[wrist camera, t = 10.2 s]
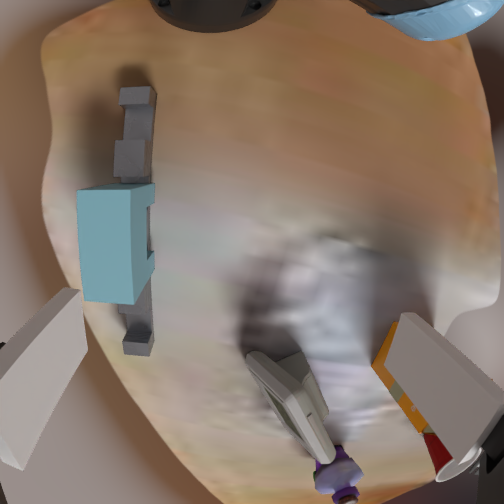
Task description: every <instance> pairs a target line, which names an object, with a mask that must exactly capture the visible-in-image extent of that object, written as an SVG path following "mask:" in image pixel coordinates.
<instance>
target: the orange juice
mask: <svg viewBox="0 0 504 504" xmlns="http://www.w3.org/2000/svg"><path fill="white" fill-rule="evenodd" d="M398 323H399V322H393V324H392V326H391V328H390V330H389V332H388V334H387V336H386V338H385V340H384V342H383V344H382V346H381V348H380V350H379V352H378V354H377V356H376V358H375V360H374V362H373V363H372V365H371V367H372V368H373V370H374V371H375V372H376V374H377V375H378V376H379V378H380V379H381V381H382V382H383V383H384V385H385V386H386V387H387V389H388V390H389V392H390V394H391V395H392V397H393V398H394V399H395V401H396V402H397V403H398V404H399V406H400V407H401V408H402V410H403V411H404V413H405V414H406V415H407V417H408V418H409V420H410V421H411V423H412V424H413V425H414V427H415V428H416V430H417V431H418V433H419V434H420V433H424V434H430V435H436V433H435V432H434V431H433V429H432V428H431V427H430V425H429V424H428V423H427V421H426V420H425V419H424V417H423V416H422V415H421V413H420V412H419V410H418V409H417V408H416V406H415V405H414V404H413V403H412V401H411V400H410V399H409V397H408V396H407V395H406V393H405V392H404V391H403V389H402V388H401V387H400V385H399V384H398V383H397V381H396V380H395V379H394V378H393V376H392V375H391V374H390V372H389V371H388V370H387V368H386V367H385V366H384V363H385V360H386V358H387V355H388V352H389V349H390V347H391V344H392V341H393V338H394V335H395V332H396V329H397V326H398Z"/></svg>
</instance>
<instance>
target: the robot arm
mask: <svg viewBox="0 0 504 504" xmlns="http://www.w3.org/2000/svg"><path fill="white" fill-rule="evenodd" d="M350 1H351V2H353V3H355V4H357V5H358V6H360V7H362V8H363V9H365V10H366V12H367V13H368V14H369V15H371V16H373V17H375V18H378V19H381V20H383V21H385V22H387V23H388V24H390V25H392V26H393V27H395V28H397V29H398V30H400V31H401V32H403V33H404V34H406V35H408V36H410V37H412V38H415V39H418V40H423V41H434V40H446V39H450V38H453V37H456V36H459V35H462V34H464V33H467V32H469V31H471V30H472V29H474V28H476V27H477V26H479V25H481V24H482V23H484V22H486V21H487V20H488V19H489V18H491V17H492V16H493V15H494V14H495V13H496V12H497V11H498V10H499V9H500V8H501V7H502V5H503V4H504V0H350ZM150 2H151V5H152V7H153V9H154V10H155V12H156V13H157V14H158V15H159V16H160V17H161V18H162V19H164V20H165V21H166V22H168V23H170V24H172V25H174V26H176V27H178V28H181V29H185V30H189V31H194V32H202V33H218V32H226V31H231V30H235V29H239V28H242V27H245V26H248V25H250V24H252V23H254V22H256V21H257V20H259V19H261V18H262V17H263V16H265V15H266V14H267V13H268V12H269V11H270V10H271V9H272V8H273V6H274V5H275V3H276V2H277V0H150ZM87 351H88V348H87V342H86V334H85V327H84V319H83V310H82V300H81V290H78V289H71V288H65V287H64V288H63V289H62V290H61V291H60V292H58V293H57V294H56V295H55V296H54V297H53V298H52V299H51V300H50V301H49V302H48V303H47V304H46V305H45V306H44V307H42V308H41V309H40V310H39V311H38V312H37V313H36V314H35V315H34V316H33V317H32V318H31V319H30V320H29V321H28V322H27V323H26V324H25V325H24V326H23V327H22V328H21V329H20V330H19V331H18V332H17V333H16V334H15V335H14V336H13V337H12V338H11V339H10V340H9V341H8V342H7V343H4V342H2V343H0V458H1V460H2V461H3V462H4V463H7V464H9V465H11V466H13V467H15V468H18V469H20V470H22V471H24V468H25V466H26V464H27V462H28V460H29V458H30V456H31V454H32V451H33V449H34V447H35V445H36V443H37V441H38V439H39V437H40V435H41V433H42V431H43V429H44V427H45V425H46V423H47V421H48V420H49V418H50V416H51V414H52V412H53V410H54V408H55V406H56V404H57V403H58V401H59V399H60V397H61V395H62V394H63V392H64V390H65V388H66V386H67V385H68V383H69V381H70V379H71V378H72V376H73V374H74V373H75V371H76V369H77V367H78V366H79V364H80V362H81V361H82V359H83V357H84V356H85V354H86V352H87ZM384 366H385V367H386V368H387V370H388V371H389V372H390V374H391V375H392V376H393V378H394V379H395V380H396V381H397V383H398V384H399V385H400V387H401V388H402V389H403V391H404V392H405V393H406V395H407V396H408V397H409V399H410V400H411V401H412V403H413V404H414V405H415V406H416V408H417V409H418V410H419V412H420V413H421V415H422V416H423V417H424V419H425V420H426V421H427V423H428V424H429V425H430V427H431V428H432V429H433V431H434V432H435V433H436V435H437V436H438V438H439V439H440V440H441V442H442V443H443V444H444V446H445V447H446V449H447V450H448V451H449V453H450V454H451V456H452V457H453V458H454V460H455V461H456V463H457V464H458V465H459V464H461V463H463V462H466V461H468V460H470V459H472V458H473V456H474V455H475V454H476V453H477V451H478V450H479V449H480V447H482V448H483V449H484V450H485V451H484V452H483V454H482V455H481V456H480V457H479V459H478V460H477V461H476V462H475V464H474V465H473V466H472V467H471V469H470V471H469V473H472V472H473V471H474V469H475V468H476V467H479V468H478V470H477V471H476V472H475V474H476V475H479V480H478V491H477V500H476V504H504V391H503V390H502V389H501V388H500V387H499V386H498V385H497V384H496V383H495V382H494V381H493V380H492V379H490V378H489V377H488V376H487V375H486V374H485V373H484V372H483V371H482V370H481V369H480V368H478V367H477V366H476V365H475V364H474V363H473V362H472V361H471V360H469V359H468V358H467V357H466V356H465V355H464V354H463V353H462V352H461V351H459V350H458V349H457V348H456V347H455V346H454V345H452V344H451V343H450V342H449V341H448V340H447V339H445V338H444V337H443V336H442V335H441V334H440V333H439V332H437V331H436V330H435V329H434V328H433V327H432V326H430V325H429V324H428V323H427V322H426V321H424V320H423V319H422V318H421V317H420V316H418V315H417V314H416V313H402V314H401V317H400V320H399V323H398V326H397V329H396V332H395V335H394V338H393V341H392V344H391V347H390V349H389V352H388V355H387V358H386V360H385V363H384ZM0 504H7V501H6V498H5V495H4V492H3V489H2V486H1V483H0Z"/></svg>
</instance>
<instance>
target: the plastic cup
mask: <svg viewBox="0 0 504 504" xmlns="http://www.w3.org/2000/svg"><path fill="white" fill-rule="evenodd" d="M424 440H425V443H426V445H427V448H428V451H429V454H430V456H431V459H432V462H433V464H434V467H435V471H436V481H438V482H442V481H446V480H448V479H450V478H453V477H454V476H456V475H458V474H459V473H461V472H462V471H464V470H465V469H466V468H467V467H469V466H470V465H471V464H472V463H473V462H474V461H475V460H476V459H477V457H478V456H479V454H480V453H481V448H480V449H479V450H478V451H477V453H476V454H475V455H474V456H473V458H472V459H470V460H468V461H466V462H463V463H461V464H459V465H458V464H457V463H456V461H455V460H454V458H453V457H452V456H451V454H450V453H449V451H448V450H447V449H446V447H445V446H444V444H443V443H442V442H441V440H440V439H439V438H438V436H437V435H430V434H425V435H424Z"/></svg>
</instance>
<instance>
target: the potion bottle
mask: <svg viewBox="0 0 504 504" xmlns="http://www.w3.org/2000/svg"><path fill="white" fill-rule="evenodd" d="M333 446H334V448H335V450H336V456H335V459H334V460H333V461H332V462H331V463H329V464H321V463H320V462H319V461H317V460H316V471H314V472H313V478H314V482H315V489H316V490H317V491H318V492H319V493H320V494H330V493H334V495H333V496H332V499H333V502H334V503H335V504H356V503H357V502H358V498H357V497H358V496H359V495H360V494H359V492H358V490H357V488H356V487H355V486H354V485H355V484H356V483H357V482H358V481H359V480H360V479H361V478H362V477H363V476H364V474H363V472H362V470H361V469H360V467H359V466H358V465H357V464H356V463H355V461H354V460H353V459H352V458H349V456H348V455H347V454H346V453H345V451H344V449H343V448H342V446H341V445H333Z"/></svg>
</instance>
